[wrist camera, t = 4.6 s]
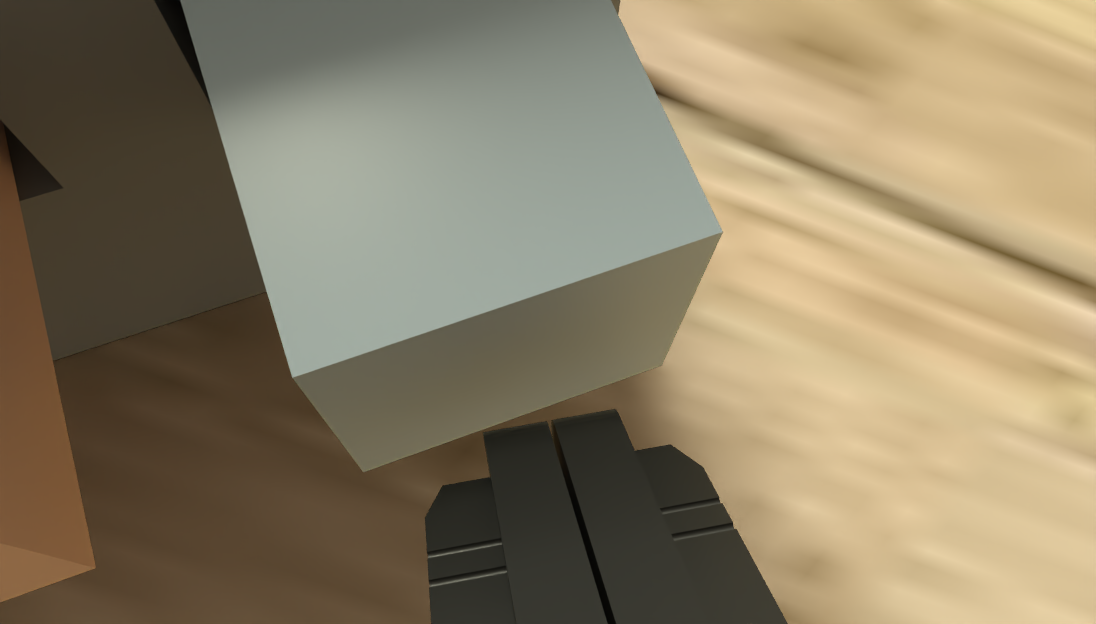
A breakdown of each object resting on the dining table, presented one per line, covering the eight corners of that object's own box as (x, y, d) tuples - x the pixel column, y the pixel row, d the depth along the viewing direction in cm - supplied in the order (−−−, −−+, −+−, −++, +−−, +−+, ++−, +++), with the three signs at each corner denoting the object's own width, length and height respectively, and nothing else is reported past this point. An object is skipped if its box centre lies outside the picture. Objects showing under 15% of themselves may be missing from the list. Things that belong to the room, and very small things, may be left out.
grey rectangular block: (363, 472, 13) (292, 377, 9) (220, 12, 16) (113, -226, 12) (661, 365, 14) (722, 231, 10) (476, -59, 16) (462, -308, 12)
